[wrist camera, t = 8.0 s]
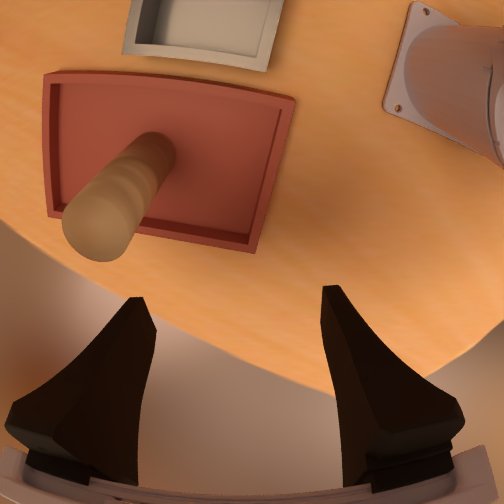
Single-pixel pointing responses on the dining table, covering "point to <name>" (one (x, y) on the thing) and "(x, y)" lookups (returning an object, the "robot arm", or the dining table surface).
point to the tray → (184, 140)
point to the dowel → (118, 198)
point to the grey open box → (204, 30)
